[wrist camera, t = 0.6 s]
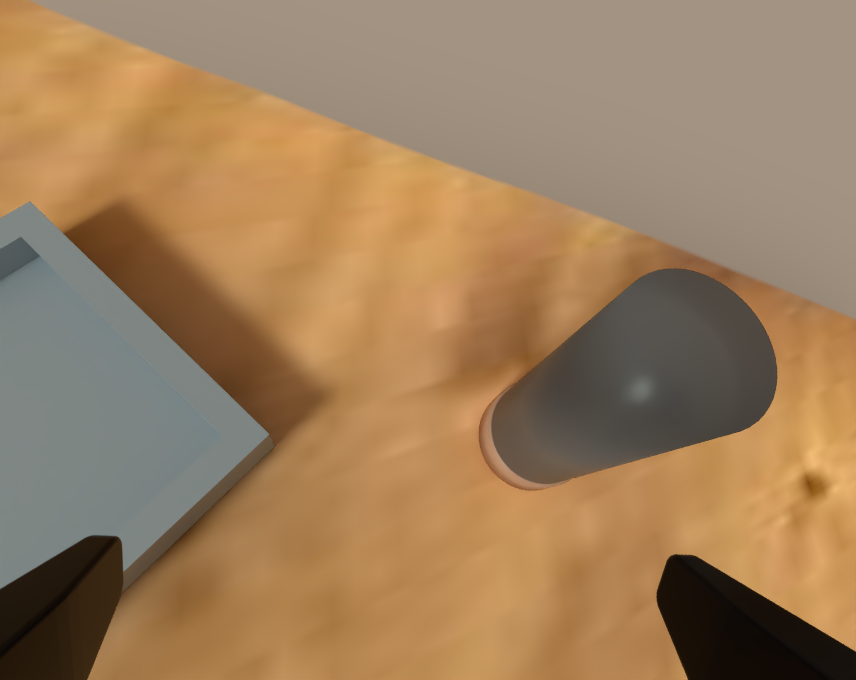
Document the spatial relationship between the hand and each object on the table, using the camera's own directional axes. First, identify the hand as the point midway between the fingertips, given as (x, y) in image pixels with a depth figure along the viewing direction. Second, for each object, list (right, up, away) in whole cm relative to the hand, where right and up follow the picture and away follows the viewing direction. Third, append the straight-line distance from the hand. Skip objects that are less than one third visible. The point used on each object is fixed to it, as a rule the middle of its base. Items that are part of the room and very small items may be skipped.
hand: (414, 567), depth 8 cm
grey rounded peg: (+5, -1, +16) cm, 16 cm away
